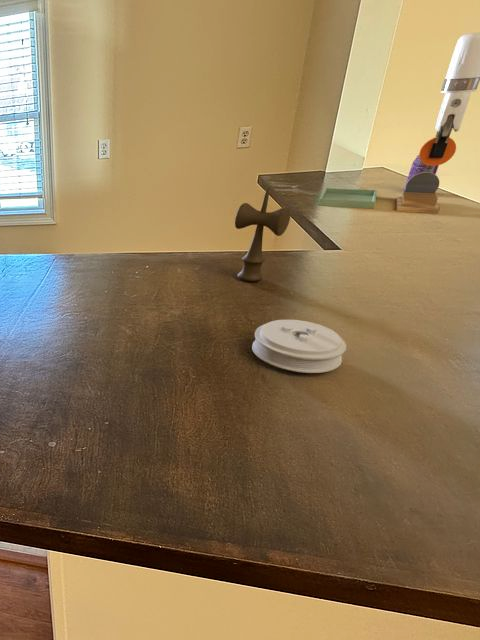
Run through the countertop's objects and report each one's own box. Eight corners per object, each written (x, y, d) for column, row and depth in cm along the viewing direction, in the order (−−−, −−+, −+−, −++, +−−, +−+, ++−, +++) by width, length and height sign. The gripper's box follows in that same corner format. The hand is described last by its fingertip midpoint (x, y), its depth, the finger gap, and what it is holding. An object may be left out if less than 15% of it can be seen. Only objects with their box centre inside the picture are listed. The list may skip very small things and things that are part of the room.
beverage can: (431, 192, 165) (445, 155, 159) (423, 196, 162) (437, 158, 156) (407, 190, 170) (420, 154, 164) (398, 193, 167) (411, 156, 161)
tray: (323, 194, 174) (325, 188, 173) (374, 196, 166) (376, 190, 165) (317, 205, 160) (319, 198, 159) (373, 208, 152) (375, 201, 151)
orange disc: (414, 164, 145) (425, 135, 141) (448, 166, 141) (460, 136, 137) (414, 165, 144) (425, 136, 140) (449, 166, 140) (461, 136, 136)
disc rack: (396, 200, 159) (400, 188, 157) (434, 202, 154) (439, 190, 152) (396, 211, 148) (400, 198, 146) (438, 213, 143) (442, 200, 141)
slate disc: (402, 198, 155) (410, 171, 151) (434, 198, 151) (443, 171, 147) (402, 198, 154) (410, 172, 151) (434, 199, 150) (443, 172, 146)
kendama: (266, 288, 103) (287, 192, 93) (222, 278, 110) (238, 187, 100) (277, 280, 107) (299, 186, 97) (234, 271, 113) (250, 183, 103)
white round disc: (245, 337, 85) (251, 311, 82) (327, 342, 81) (335, 316, 79) (257, 374, 75) (263, 346, 72) (351, 382, 71) (361, 352, 68)
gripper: (481, 86, 125) (454, 161, 134) (474, 83, 135) (449, 153, 144) (444, 88, 129) (419, 161, 138) (440, 85, 139) (418, 153, 148)
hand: (435, 157), depth 141 cm, fingers closed on orange disc, 1 cm apart
